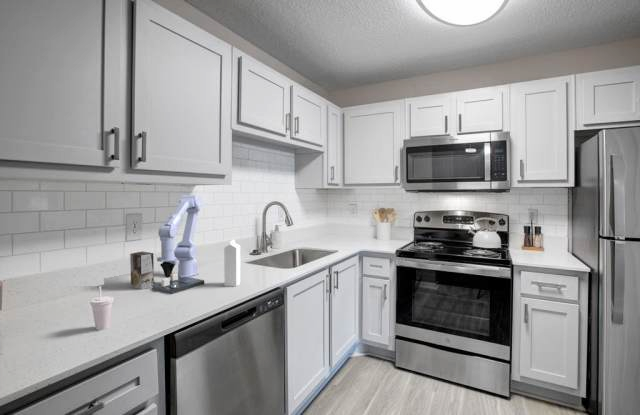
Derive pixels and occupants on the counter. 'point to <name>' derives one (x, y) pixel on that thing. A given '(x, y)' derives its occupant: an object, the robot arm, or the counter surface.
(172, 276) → the block
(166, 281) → the block
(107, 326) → the smoothie
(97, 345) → the counter surface
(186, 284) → the console
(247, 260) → the counter surface
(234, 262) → the milk
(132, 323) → the counter surface
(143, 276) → the coffee box
